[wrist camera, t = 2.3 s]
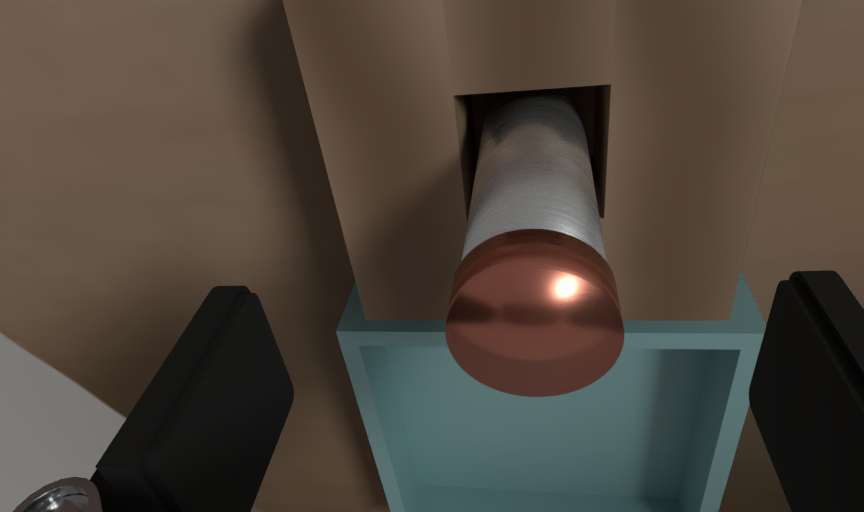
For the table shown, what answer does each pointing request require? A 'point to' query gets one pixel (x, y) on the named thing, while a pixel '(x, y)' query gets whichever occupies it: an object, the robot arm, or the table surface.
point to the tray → (556, 419)
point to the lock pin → (534, 255)
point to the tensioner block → (603, 120)
